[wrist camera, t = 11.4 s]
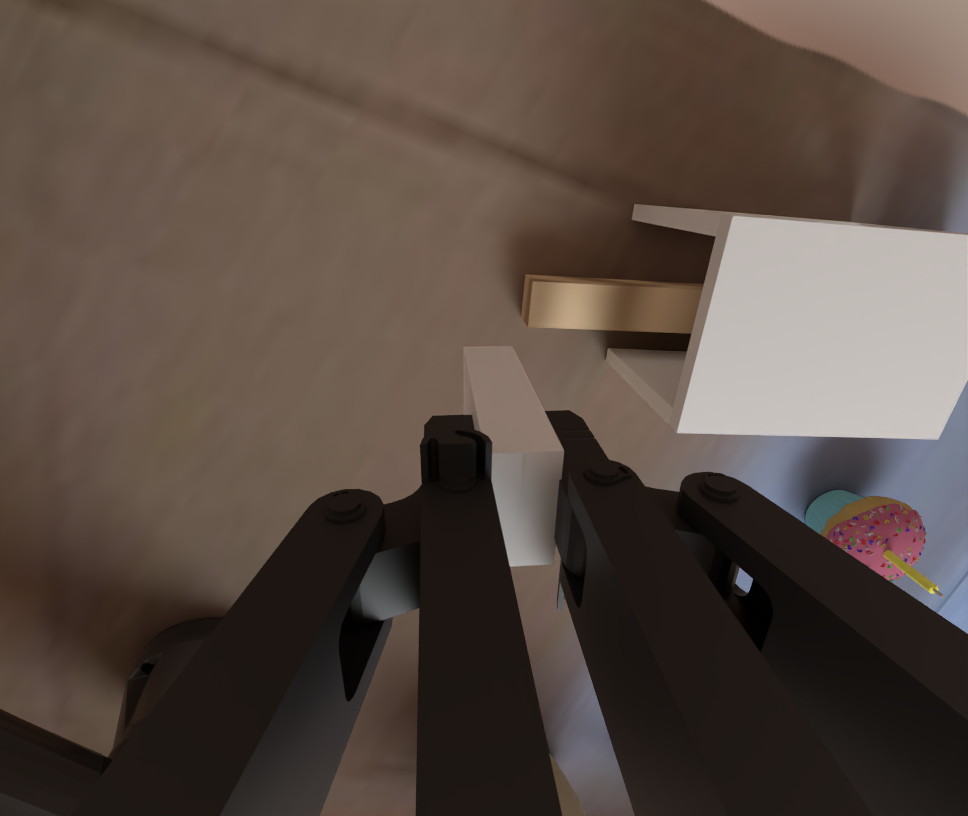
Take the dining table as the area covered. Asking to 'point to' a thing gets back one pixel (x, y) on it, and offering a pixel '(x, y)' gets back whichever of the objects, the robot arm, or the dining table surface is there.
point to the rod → (610, 304)
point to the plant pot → (566, 793)
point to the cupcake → (872, 532)
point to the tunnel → (813, 330)
